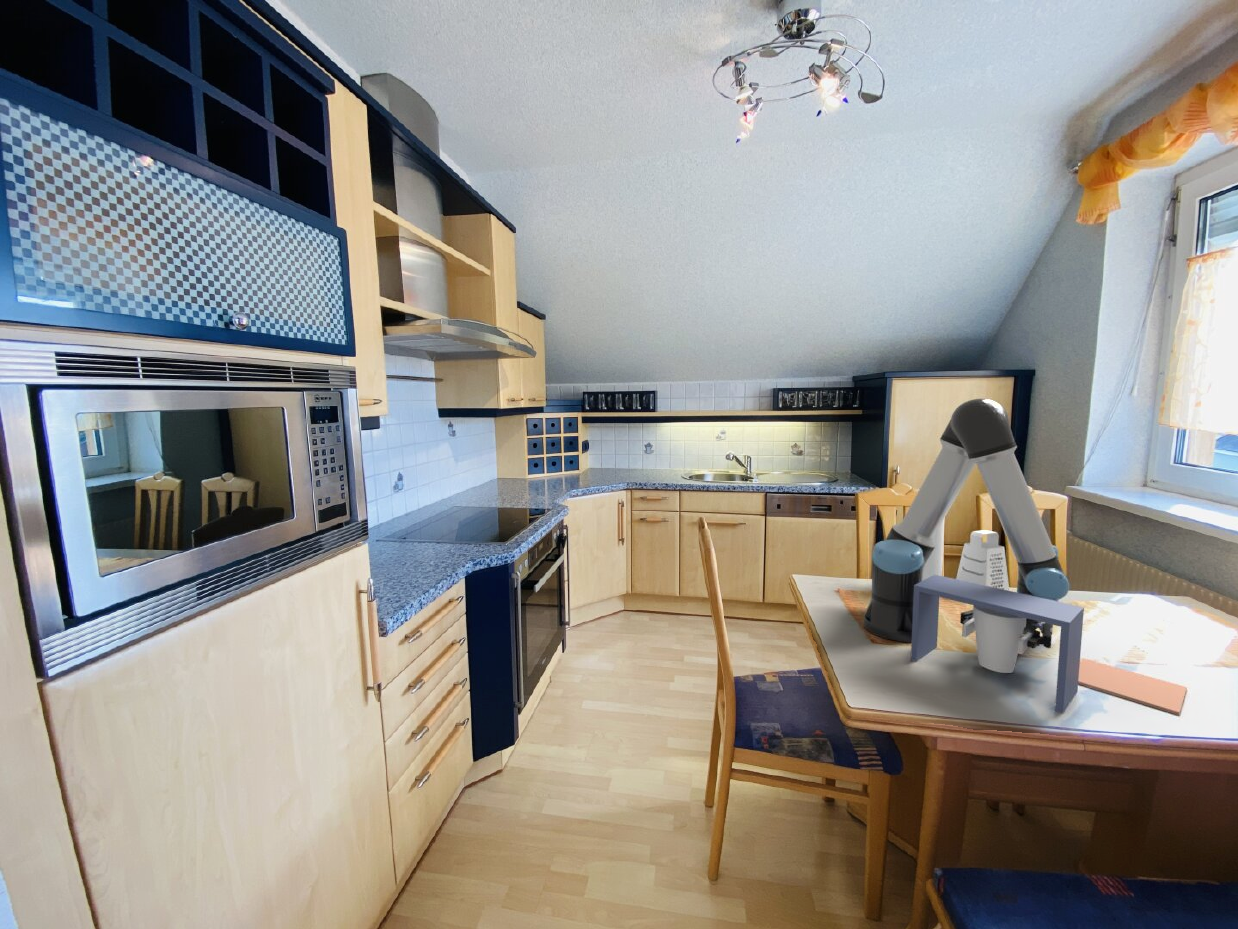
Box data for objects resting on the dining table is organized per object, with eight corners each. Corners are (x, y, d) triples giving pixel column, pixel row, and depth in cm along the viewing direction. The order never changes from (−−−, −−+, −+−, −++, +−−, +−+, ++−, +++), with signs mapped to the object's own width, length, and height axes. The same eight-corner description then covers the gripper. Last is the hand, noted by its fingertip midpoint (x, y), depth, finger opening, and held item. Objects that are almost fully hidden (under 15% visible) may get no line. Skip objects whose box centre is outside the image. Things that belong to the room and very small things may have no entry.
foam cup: (1005, 680, 105) (1009, 621, 104) (961, 660, 113) (964, 606, 112) (1032, 670, 109) (1036, 613, 107) (987, 652, 117) (990, 599, 116)
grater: (1010, 596, 156) (1013, 534, 154) (985, 600, 153) (989, 537, 151) (977, 585, 166) (980, 527, 164) (953, 589, 163) (956, 529, 161)
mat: (1068, 680, 107) (1068, 678, 107) (1082, 660, 116) (1083, 658, 116) (1179, 715, 94) (1179, 712, 94) (1186, 689, 103) (1186, 687, 103)
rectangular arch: (910, 659, 117) (913, 585, 116) (931, 645, 125) (934, 574, 123) (1063, 713, 96) (1069, 622, 94) (1077, 691, 103) (1083, 607, 101)
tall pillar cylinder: (901, 583, 170) (904, 511, 168) (938, 587, 165) (941, 513, 163) (904, 593, 160) (907, 517, 158) (943, 597, 156) (947, 519, 153)
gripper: (1083, 644, 113) (1056, 676, 99) (969, 614, 130) (934, 638, 117) (1085, 612, 112) (1058, 640, 99) (971, 586, 130) (935, 607, 116)
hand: (991, 639), depth 108 cm, fingers closed on foam cup, 9 cm apart
